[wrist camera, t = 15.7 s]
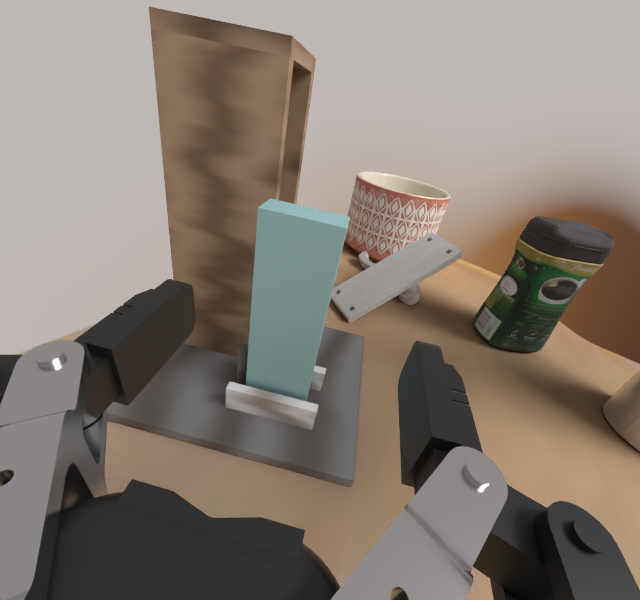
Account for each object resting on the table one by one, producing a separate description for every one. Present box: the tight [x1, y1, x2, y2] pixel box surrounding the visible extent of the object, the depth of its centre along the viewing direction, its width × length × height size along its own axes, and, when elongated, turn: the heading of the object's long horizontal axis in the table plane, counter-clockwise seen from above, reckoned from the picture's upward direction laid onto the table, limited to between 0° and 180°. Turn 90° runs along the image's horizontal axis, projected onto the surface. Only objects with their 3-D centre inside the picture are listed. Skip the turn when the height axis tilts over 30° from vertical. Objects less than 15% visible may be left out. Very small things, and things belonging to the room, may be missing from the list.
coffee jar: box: [473, 216, 614, 352], centre depth 43 cm, size 10×8×19 cm
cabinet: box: [106, 7, 364, 487], centre depth 25 cm, size 21×18×28 cm
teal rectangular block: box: [246, 198, 350, 401], centre depth 25 cm, size 6×4×18 cm, turn 80°
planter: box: [345, 172, 451, 262], centre depth 66 cm, size 19×19×15 cm
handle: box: [331, 232, 462, 323], centre depth 53 cm, size 18×8×20 cm
